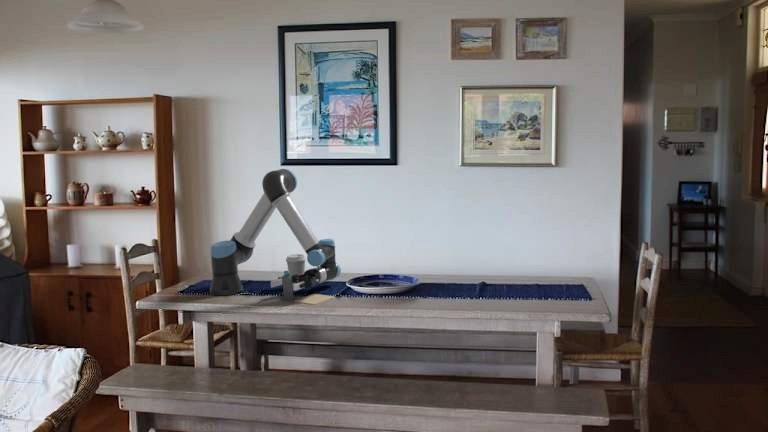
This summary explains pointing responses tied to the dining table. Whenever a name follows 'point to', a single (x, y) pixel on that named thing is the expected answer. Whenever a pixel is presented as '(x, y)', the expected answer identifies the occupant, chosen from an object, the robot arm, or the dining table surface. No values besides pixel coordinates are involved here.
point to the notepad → (314, 299)
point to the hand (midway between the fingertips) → (282, 286)
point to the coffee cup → (296, 264)
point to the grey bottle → (287, 286)
